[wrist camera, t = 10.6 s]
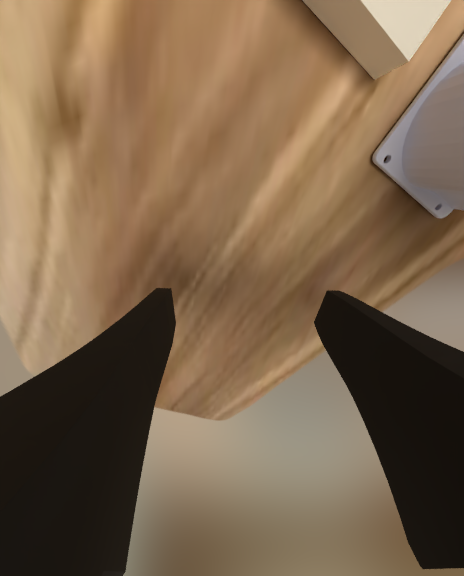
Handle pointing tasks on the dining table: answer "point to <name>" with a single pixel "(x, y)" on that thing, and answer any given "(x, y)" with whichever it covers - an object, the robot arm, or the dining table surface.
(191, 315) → the dining table surface
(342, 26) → the socket board
